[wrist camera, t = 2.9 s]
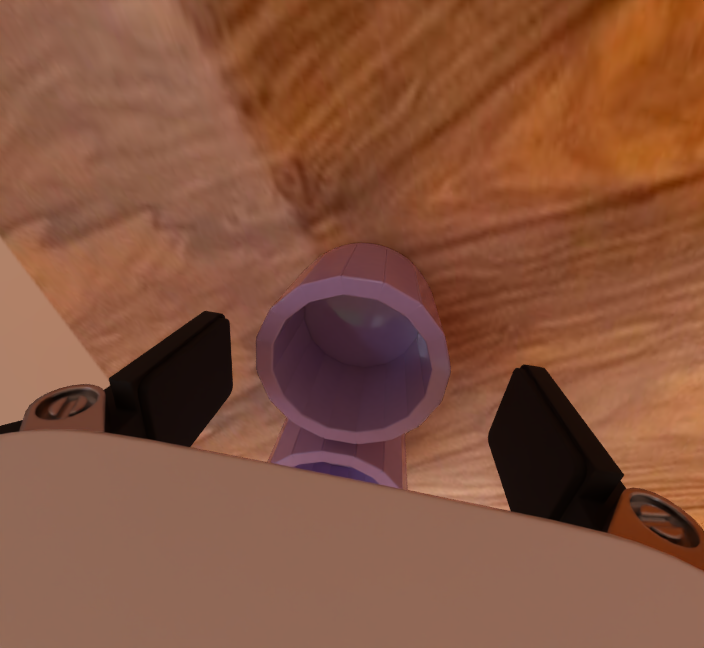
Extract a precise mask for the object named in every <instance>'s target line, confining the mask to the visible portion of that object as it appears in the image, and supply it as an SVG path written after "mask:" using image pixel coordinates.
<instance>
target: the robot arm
mask: <svg viewBox="0 0 704 648" xmlns="http://www.w3.org/2000/svg"><path fill="white" fill-rule="evenodd" d="M109 382H110V386H109V387H108V388H106V389H105V390H103V389H102V388H100V387H99V386H95V385H90V384H80V385H72V386H67V387H63V388H59V389H57V390H54V391H51V392H49V393H47V394H45V395H43V396H41V397H40V398H38V399H36V400H35V401H34V402H33V403H32V404H31V405H29V407H28V409H27V410H26V412H25V415H24V418H23V420H21V421H17V422H13V423H9V424H5V425H2V426H0V648H704V531H703V529H702V528H701V527H700V526H699V525H698V523H697V522H696V521H695V520H694V519H693V518H692V517H691V516H690V515H688V514H687V513H686V512H685V511H684V510H682V509H681V508H680V507H678V506H677V505H675V504H674V503H672V502H671V501H669V500H668V499H666V498H664V497H662V496H660V495H658V494H656V493H653V492H650V491H647V490H644V489H640V488H629V489H626V488H625V486H624V485H623V483H622V482H621V481H620V480H621V479H622V477H623V476H624V474H623V473H622V471H621V470H620V469H619V467H618V466H617V465H616V463H615V462H614V461H613V459H612V458H611V457H610V455H609V454H608V453H607V451H606V450H605V448H604V447H603V446H602V444H601V443H600V442H599V440H598V439H597V438H596V436H595V435H594V434H593V432H592V431H591V430H590V428H589V427H588V426H587V424H586V423H585V422H584V420H583V419H582V418H581V416H580V415H579V414H578V412H577V411H576V409H575V408H574V407H573V405H572V404H571V403H570V401H569V400H568V399H567V397H566V396H565V395H564V393H563V392H562V391H561V389H560V388H559V387H558V385H557V384H556V383H555V381H554V380H553V379H552V377H551V376H550V374H549V373H548V372H547V370H546V369H545V368H542V367H536V366H530V365H522V366H521V367H520V368H516V369H515V370H514V371H513V374H512V376H511V378H510V381H509V383H508V386H507V388H506V391H505V393H504V396H503V398H502V401H501V403H500V406H499V408H498V411H497V413H496V416H495V418H494V421H493V423H492V426H491V428H490V431H489V435H488V442H489V446H490V449H491V452H492V455H493V458H494V461H495V464H496V467H497V470H498V473H499V477H500V480H501V483H502V486H503V489H504V492H505V495H506V498H507V501H508V504H509V507H510V510H511V511H507V510H502V509H497V508H493V507H488V506H483V505H478V504H473V503H468V502H463V501H458V500H454V499H449V498H444V497H439V496H434V495H429V494H424V493H419V492H415V491H410V490H405V489H400V488H395V487H390V486H385V485H380V484H375V483H370V482H365V481H360V480H355V479H350V478H345V477H340V476H335V475H330V474H325V473H320V472H315V471H310V470H305V469H300V468H295V467H289V466H284V465H279V464H274V463H269V462H264V461H259V460H253V459H248V458H243V457H238V456H233V455H227V454H222V453H217V452H212V451H207V450H202V449H196V448H191V445H192V444H193V443H194V441H195V440H196V439H197V437H198V436H199V435H200V433H201V432H202V431H203V430H204V428H205V427H206V426H207V424H208V423H209V422H210V420H211V419H212V418H213V417H214V415H215V414H216V413H217V411H218V410H219V409H220V407H221V406H222V405H223V403H224V402H225V401H226V400H227V398H228V397H229V396H230V394H231V391H232V388H233V379H232V359H231V340H230V323H229V320H228V319H225V316H224V315H223V314H221V313H215V312H209V311H204V312H202V313H201V314H199V315H198V316H197V317H195V318H194V319H192V320H191V321H189V322H188V323H187V324H185V325H184V326H182V327H181V328H180V329H178V330H177V331H175V332H174V333H172V334H171V335H170V336H168V337H167V338H165V339H164V340H163V341H161V342H160V343H158V344H157V345H155V346H154V347H153V348H151V349H150V350H148V351H147V352H146V353H144V354H143V355H141V356H140V357H138V358H137V359H136V360H134V361H133V362H131V363H130V364H129V365H127V366H126V367H124V368H123V369H121V370H120V371H119V372H117V373H116V374H114V375H113V376H112V377H110V378H109Z"/></svg>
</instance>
